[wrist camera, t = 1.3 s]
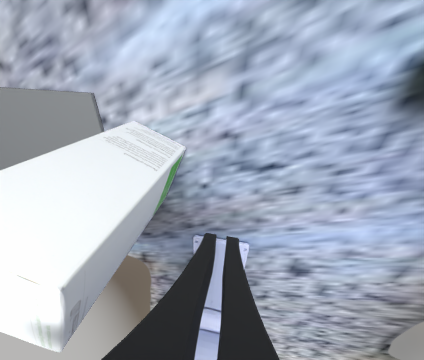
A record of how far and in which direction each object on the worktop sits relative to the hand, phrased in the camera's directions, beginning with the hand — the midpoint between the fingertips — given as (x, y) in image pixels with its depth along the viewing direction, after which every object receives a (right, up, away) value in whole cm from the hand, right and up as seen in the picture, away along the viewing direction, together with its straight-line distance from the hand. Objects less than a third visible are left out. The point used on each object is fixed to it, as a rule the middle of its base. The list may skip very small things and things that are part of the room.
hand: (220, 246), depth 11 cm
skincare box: (-8, +6, +10) cm, 14 cm away
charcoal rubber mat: (-21, +8, +12) cm, 26 cm away
